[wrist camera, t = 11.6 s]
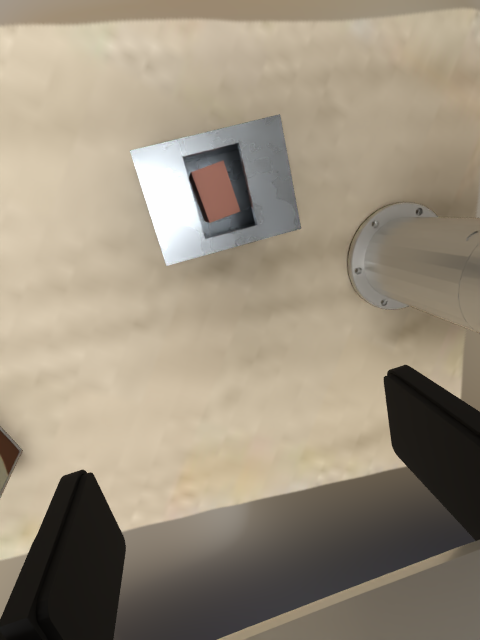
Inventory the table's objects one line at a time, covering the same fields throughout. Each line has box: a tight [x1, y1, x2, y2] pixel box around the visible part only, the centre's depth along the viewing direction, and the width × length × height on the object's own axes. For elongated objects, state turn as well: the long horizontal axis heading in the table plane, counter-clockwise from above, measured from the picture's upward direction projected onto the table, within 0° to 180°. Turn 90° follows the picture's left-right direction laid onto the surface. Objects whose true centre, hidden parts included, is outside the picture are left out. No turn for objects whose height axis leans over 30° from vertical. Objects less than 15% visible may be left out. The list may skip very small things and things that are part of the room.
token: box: [189, 161, 240, 223], centre depth 34 cm, size 3×4×6 cm, turn 19°
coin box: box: [130, 114, 301, 266], centre depth 33 cm, size 12×9×9 cm
